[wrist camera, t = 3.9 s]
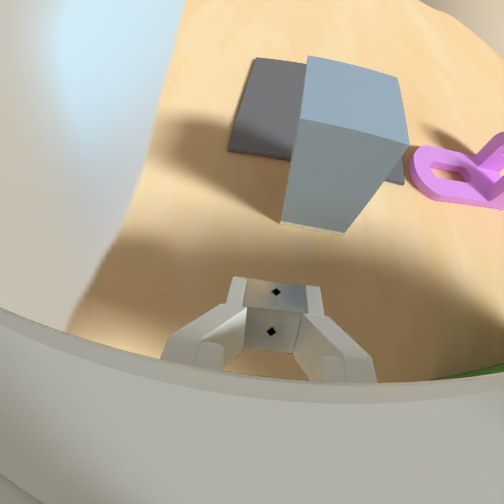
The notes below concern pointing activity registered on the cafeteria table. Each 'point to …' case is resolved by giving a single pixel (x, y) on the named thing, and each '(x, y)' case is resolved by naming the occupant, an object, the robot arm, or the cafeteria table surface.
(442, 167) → the bracket
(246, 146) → the mat
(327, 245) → the cafeteria table surface
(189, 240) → the cafeteria table surface
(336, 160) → the slate block
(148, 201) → the cafeteria table surface
